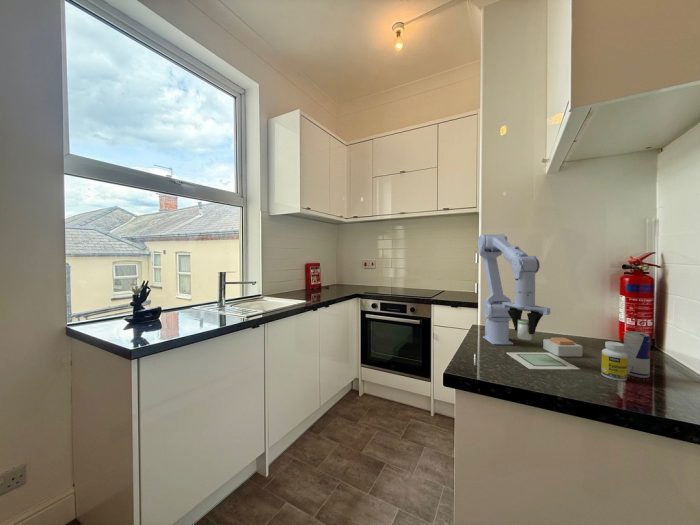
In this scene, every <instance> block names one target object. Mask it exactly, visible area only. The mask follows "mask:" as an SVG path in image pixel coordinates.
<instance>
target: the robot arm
mask: <svg viewBox="0 0 700 525" xmlns="http://www.w3.org/2000/svg"><path fill="white" fill-rule="evenodd" d="M477 248H478V254H479V256H481V257H482V258H483V259H482V260H483V265H484V266H483V267H484V270H485V278H486V282H487V288H488V294H489V296H487V298H485V299H484V300H483V315H484V317H485V318H486V320H485V322H484V335H483V336H482V338H483V339H484V340H486V341H488V342H489V343H490V344H491V345H514V342H512V341H510V338H509V336H510V322H512V324H513V327H514V331H515V332H518V319H522V314H523V311H524V312H527V313H526V316H527V320H528V321H529V334H532V335H535V333H536V330H537V327H538V324H539V322H540V320H541V319H542V317H543V316H544V315H546V316H548V315H551V308H550V307H545V306H540V305H536V274H537V273H538V272H539V270H540V265H541V264H540V260H539V258H538V257H537V256H536V255H528V254H527V253H526V252H524V251H523V250H522V249H521V248H520V247H519V245H511V244H510V243H509V241H508V236H507V235H506V234H504V233H501V234H500V233H499V234H493V233H492V234H482V233H481V234H480V235H479V237H478V240H477ZM502 255H503V257H504V259H505V260H506V261H507V262H508V263H509V264H510V266H511V270H512V273H513V274H512V275H513V278H514V279H515V280H514V302H512V301H511V299H510V298H509V297H507V296H506V295H504V291H503V286H502V282H501V276H500V269H499V265H498V260H497V258H498V257H501V256H502Z"/></svg>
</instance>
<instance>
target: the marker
mask: <svg viewBox="0 0 700 525" xmlns="http://www.w3.org/2000/svg"><path fill="white" fill-rule="evenodd" d="M532 335H533V334H529V321H528V319H523V318H521V319H518V331H517V339H520V340H523V341H531V340H533V339H532V337H533V336H532Z"/></svg>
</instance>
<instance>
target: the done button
mask: <svg viewBox="0 0 700 525" xmlns="http://www.w3.org/2000/svg"><path fill="white" fill-rule="evenodd" d="M550 339H551V341H552V342H554V343H556V344H558V345H574V343H575V341H573V340H572V339H568V338H566V337H550Z"/></svg>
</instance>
